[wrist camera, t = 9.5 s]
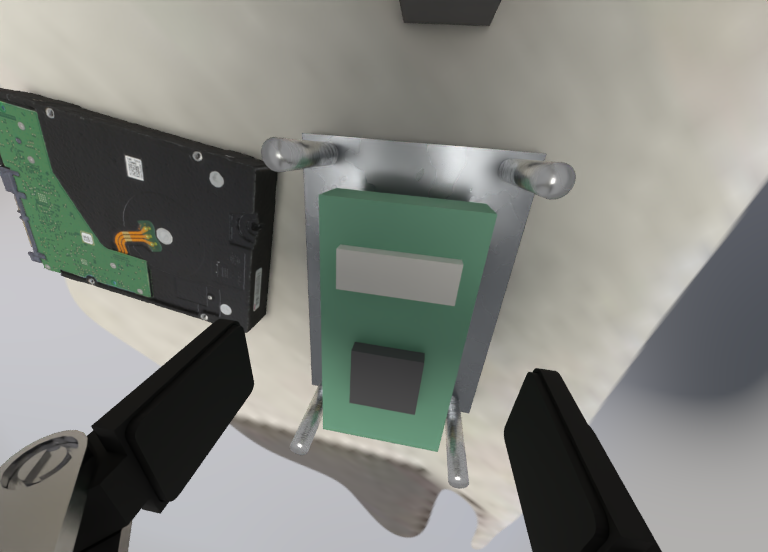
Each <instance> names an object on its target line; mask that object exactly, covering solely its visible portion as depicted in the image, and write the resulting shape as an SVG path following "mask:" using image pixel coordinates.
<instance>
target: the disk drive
mask: <svg viewBox="0 0 768 552" xmlns="http://www.w3.org/2000/svg"><path fill="white" fill-rule="evenodd" d="M0 165H1V166H0V176H1V178H2V180H3V183H4V186H5V189H6V191H8V192H12V193H13V194H14V195H15V196H14V197H15V200H16V203H17V205H18V211H17V212H19V213H21V216H20V219H22V221H23V224H24V227H25V230H26V232H27V235H28V238H29V241H30V244H31V247H33V251H34V253H33V252H28V254H29V255H30V257H31V260H32V261H36V262H39V263H43V265H44V268H46V269H48V270H51V271H55V272H59V273H61V276H64V277H66V278H69V279H73V280H75V281H80V282H84V283H87V284H90V285H91V284H92V285H95V286H97V287H100V288H103V289H107V290H109V291H112V292H116V293H119V294H122V295H126V296H128V297H132V298H135V299H138V300H141V301H145V302H147V303H152V304H155V305H157V306H161V307H163V308H167V309H170V310H173V311H176V312H180V313H183V314H186V315H189V316H192V317H196V318H199V319H202V320H205V321H208V322H211V323H214V322H215V321H216V320H218V319H227V320H234V321H238V322H239V323H240V326H242V327H243V328H244V332H245V333H247V332H249V331H250V330H251V329H252V328H253V327H254V326H255V325H256V324H257V323H258V322H259V321H260V320H261V319H262V318H263V317H264V316H265V315H266V305H267V304H266V302H267V293H268V282H269V270H270V260H271V246H272V234H273V222H274V212H275V191H276V183H277V172H275V171H273V170H271V169H270V168H268V167H267V166H266V164H265V163H264V161H261V160H257V159H255V158H254V157H251V156H248V155H245V154H242V153H239V152H235V151H231V150H223V149H220V148H216V147H213V146H209V145H205V144H202V143H200V142H196V141H192V140H189V139H185V138H181V137H179V136H176V135H172V134H168V133H165V132H161V131H159V130H154V129H151V128H147V127H144V126H141V125H138V124H135V123H129V122H127V121H124V120H120V119H117V118H113V117H110V116H106V115H103V114H100V113H97V112H93V111H90V110H87V109H83V108H81V107H80V106H77V105H74V104H70V103H67V102H63V101H59V100H53V99H50V98H46V97H43V96H41V95H36V94H33V93H28V92H21V91H14V90H9V89H3V88H0Z"/></svg>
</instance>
